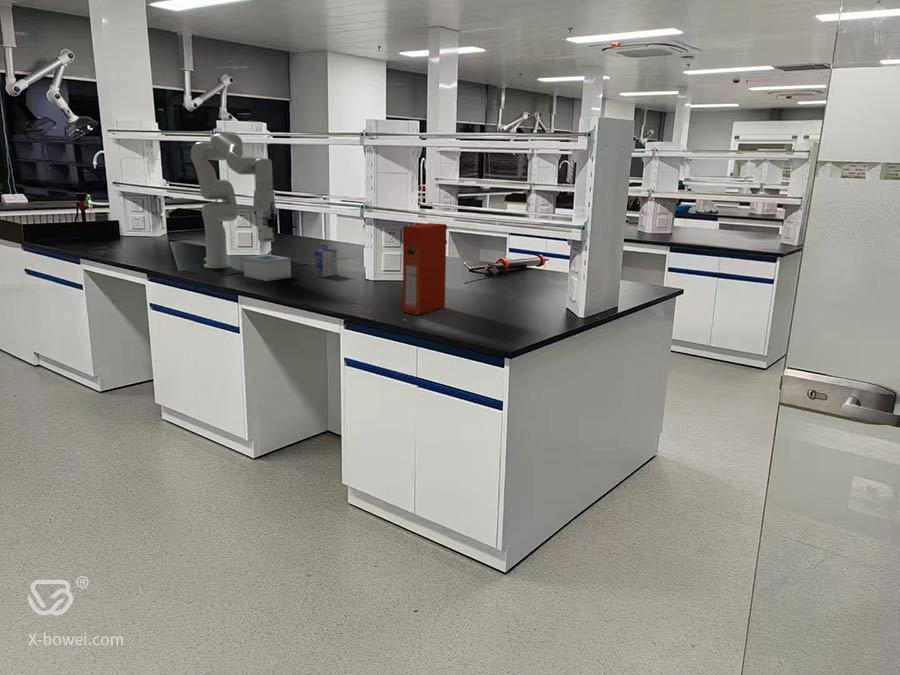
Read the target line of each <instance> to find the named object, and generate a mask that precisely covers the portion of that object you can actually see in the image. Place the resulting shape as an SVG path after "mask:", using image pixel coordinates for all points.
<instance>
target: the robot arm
mask: <svg viewBox="0 0 900 675" xmlns="http://www.w3.org/2000/svg"><path fill="white" fill-rule="evenodd" d="M243 153H244V151H243V140H242V138H241V137H240V136H239V135H237V133H221V132H219V133H216V134H213V135H212V137H211V138H210V141H198V142H195V143H193V145H192V146H191V150H190V156H191V160H192V163H193V167H194V168H195V171H196V174H197V180H198V185H199V190H200V192H201V193H200V194H201V197H202V198H203V199H205V200H207V201H210V200H211V202H206V203H204V205H202V207H201V215H202V219H203V224H204V230H205V231H204V233H205V248H206V257H204V259H203V261H205V262H206V263H204V264H203V267H204V268H206V269H207V268H208V269H225V268H226V269H227V268H230V267H231V265H232V264H231V263H228V254H227V253H228V250H227V235H226V229H225V227H224V226H223V223H224V222H233V221H235V220H237V218H238V216H239V209H238V204H237V199H236V194H235V190H234V186H233V184H232V183H231V182H230V181H229V180H227V179H218V178H217V175H216V174H217V172H216V170H215V168H214V167H213V165H212V164H211V163H210V162H209V161H225V162H226V164H227V166H228V168H229V169H231V170H232V171H233V172H235V173H236V174H238V175H251V176H252V175H253V176H254V181H255V183H254V185H255V189H254V191H253V206H252V208H251V209H252V211H253V213H254V216H255V218H256V219H257V212H259V210H263V212H264V213H267V214H268V217H269V219H268V227H269V228H272V227H274V228H275V219H276V216H277V214H278V211H279V210H278V208H277V207H276V199H275V198H276V197H275V192H274V189H273V188H274V186H273V185H274V184H273V163H272V159H270V158H260V157H247V156H246V157H242V156H243ZM212 200H213V201H212ZM214 200H215V201H214ZM217 200H220V201H217ZM270 214H271V215H270ZM221 222H223V223H221Z"/></svg>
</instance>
